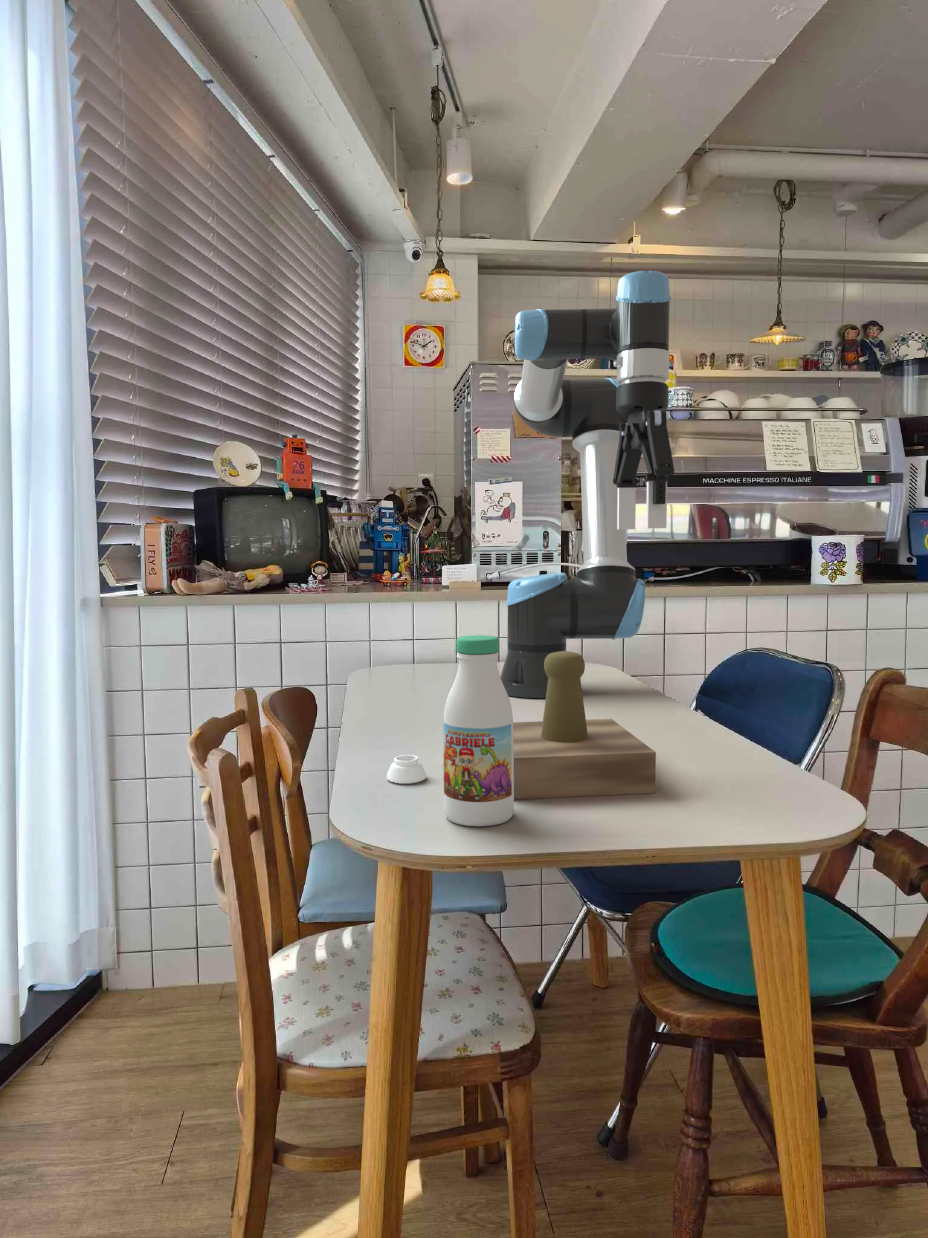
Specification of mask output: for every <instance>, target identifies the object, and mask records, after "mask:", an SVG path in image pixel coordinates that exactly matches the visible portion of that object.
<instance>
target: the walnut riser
mask: <svg viewBox="0 0 928 1238" xmlns="http://www.w3.org/2000/svg"><path fill="white" fill-rule="evenodd" d="M542 724H543V720H541V721H516V722H514V721H513V747H514V801H515V800H533V799H554V798H558V799H559V798H574V797H577V798H578V797H594V796H595V797H596V796H597V797H598V796H615V795H616V796H617V795H618V796H619V795H638V794H656V775H657V774H656V768H657V767H656V765H657V764H656V760H657V752H656V751H655V750H654V749H652V747H650V746H648V745H647V744H646V743H645V742H643V741H642V740H641V739H639V738H638V737H636V736H635V735H634V734H632V732H630V731H628V730H627V729H626V728H624V727H623V726H622V725H620V724H619V723H618V722H617V721H615V720H613V719H612V718H600V719H599V718H596V719H586V725H587V733H588V738H587V739H585V740H583V741H578V742H554V741H548V740H545V739H543V738H542V737H541V732H542Z"/></svg>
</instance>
